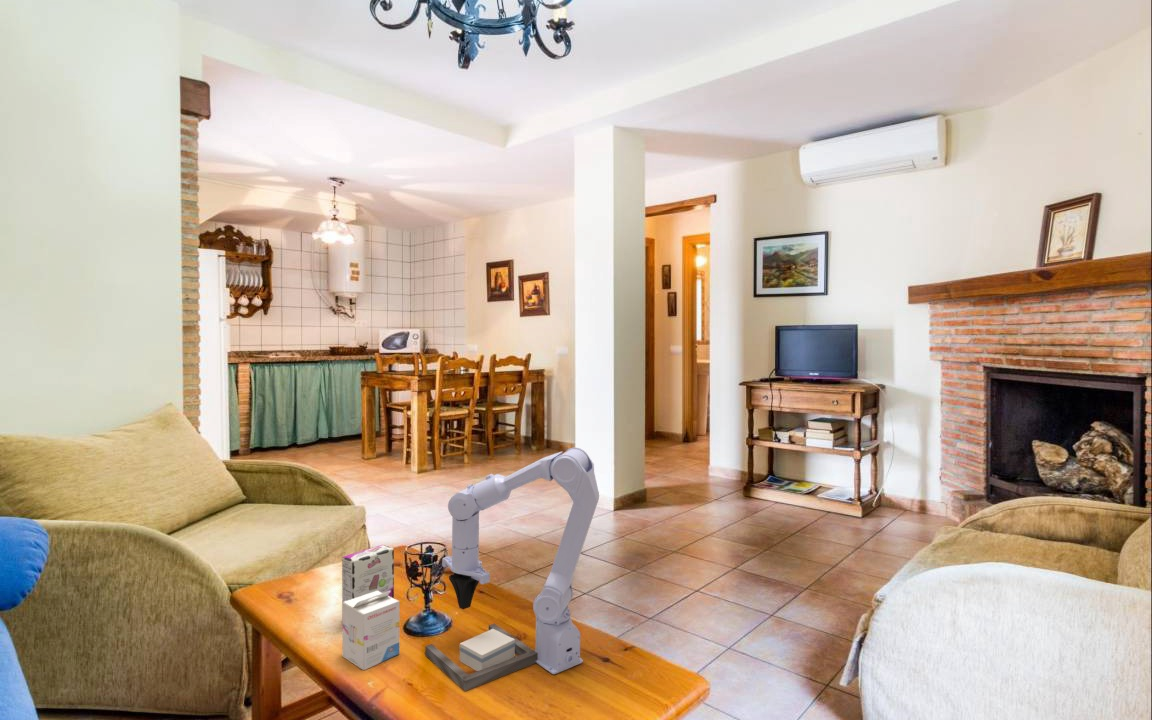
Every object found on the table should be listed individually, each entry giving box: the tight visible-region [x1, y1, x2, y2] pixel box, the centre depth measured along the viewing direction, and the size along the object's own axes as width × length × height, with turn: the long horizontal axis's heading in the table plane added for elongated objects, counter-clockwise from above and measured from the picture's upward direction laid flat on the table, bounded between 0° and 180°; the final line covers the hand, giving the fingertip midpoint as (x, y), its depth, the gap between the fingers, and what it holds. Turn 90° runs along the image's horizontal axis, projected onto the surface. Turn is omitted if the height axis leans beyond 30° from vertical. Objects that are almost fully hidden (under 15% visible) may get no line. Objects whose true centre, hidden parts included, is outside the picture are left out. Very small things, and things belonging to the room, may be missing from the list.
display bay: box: [424, 623, 538, 692], centre depth 127 cm, size 17×17×2 cm
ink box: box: [342, 590, 401, 671], centre depth 127 cm, size 9×8×13 cm
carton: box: [459, 629, 516, 672], centre depth 127 cm, size 7×9×4 cm
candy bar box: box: [341, 544, 395, 624], centre depth 143 cm, size 11×5×16 cm, turn 143°
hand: (464, 607), depth 132 cm, fingers closed
